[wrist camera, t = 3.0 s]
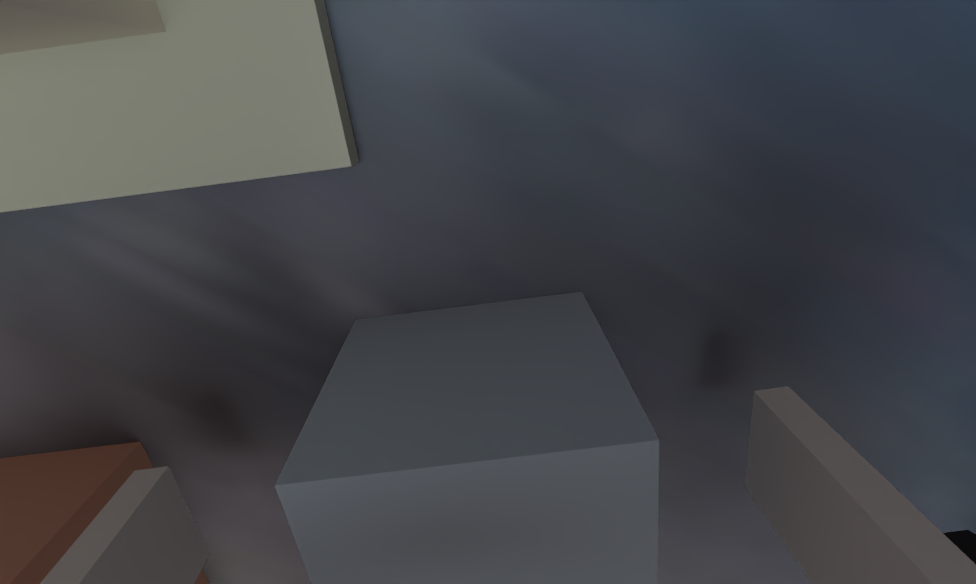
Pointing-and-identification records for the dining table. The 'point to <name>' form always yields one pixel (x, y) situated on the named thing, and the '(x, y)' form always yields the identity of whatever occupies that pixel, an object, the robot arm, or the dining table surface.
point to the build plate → (175, 105)
